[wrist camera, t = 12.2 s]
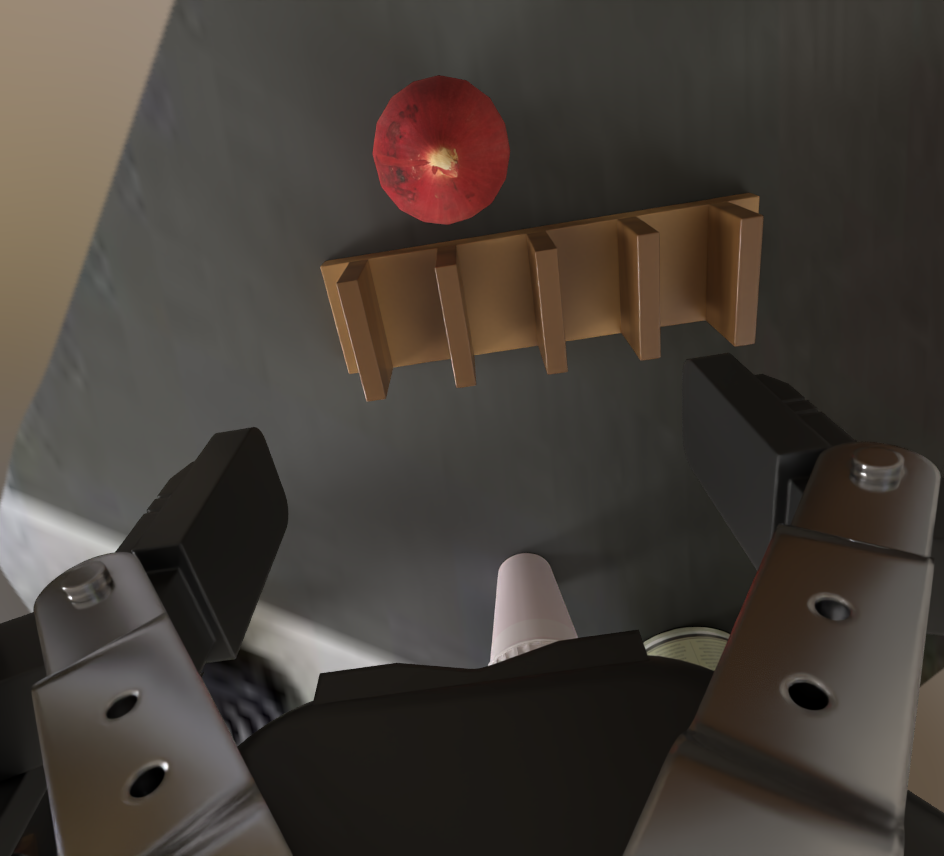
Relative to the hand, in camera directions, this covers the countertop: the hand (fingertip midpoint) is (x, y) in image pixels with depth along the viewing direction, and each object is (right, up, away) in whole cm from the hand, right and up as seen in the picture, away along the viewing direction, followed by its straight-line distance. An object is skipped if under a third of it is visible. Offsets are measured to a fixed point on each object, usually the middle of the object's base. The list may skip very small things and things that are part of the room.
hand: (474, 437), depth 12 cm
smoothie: (+4, -10, +31) cm, 33 cm away
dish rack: (+4, +8, +22) cm, 23 cm away
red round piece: (-1, +14, +18) cm, 23 cm away
